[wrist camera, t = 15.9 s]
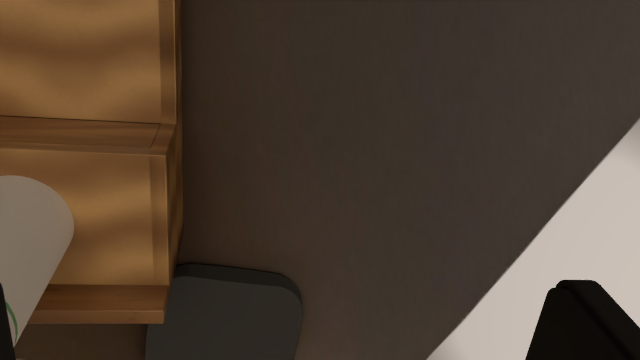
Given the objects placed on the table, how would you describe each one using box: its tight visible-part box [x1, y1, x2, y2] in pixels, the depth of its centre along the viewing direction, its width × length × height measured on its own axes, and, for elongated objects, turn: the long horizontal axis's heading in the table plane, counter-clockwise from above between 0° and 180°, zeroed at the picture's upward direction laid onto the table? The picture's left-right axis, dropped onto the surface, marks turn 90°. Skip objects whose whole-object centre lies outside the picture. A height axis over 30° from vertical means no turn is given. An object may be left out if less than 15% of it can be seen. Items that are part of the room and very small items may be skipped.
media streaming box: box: [145, 264, 303, 360], centre depth 56 cm, size 15×15×3 cm
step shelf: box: [0, 0, 183, 324], centre depth 40 cm, size 24×20×13 cm
